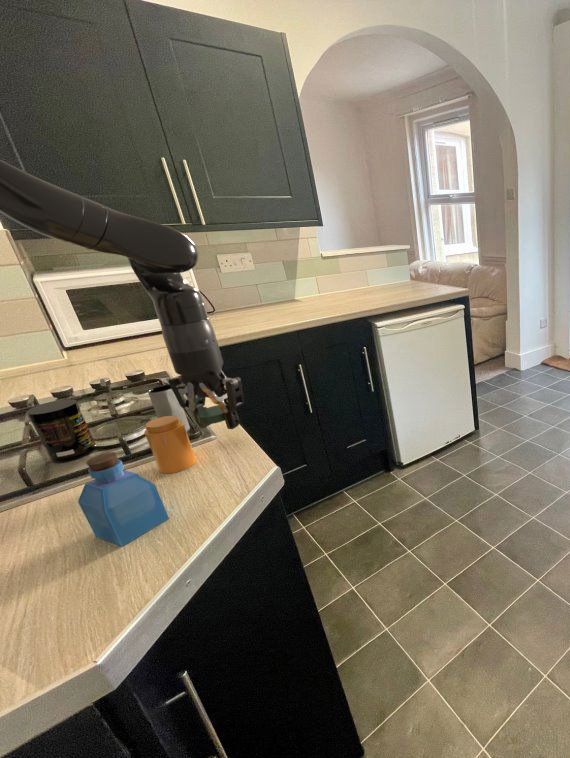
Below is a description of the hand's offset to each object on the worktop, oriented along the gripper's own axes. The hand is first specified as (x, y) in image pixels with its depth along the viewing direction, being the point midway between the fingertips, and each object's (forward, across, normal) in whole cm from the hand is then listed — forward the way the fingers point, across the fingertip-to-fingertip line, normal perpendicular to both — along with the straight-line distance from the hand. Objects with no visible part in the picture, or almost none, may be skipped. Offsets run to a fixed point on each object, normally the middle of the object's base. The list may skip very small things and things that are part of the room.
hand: (219, 426), depth 83 cm
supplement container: (+5, +28, +6) cm, 29 cm away
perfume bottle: (+5, -5, +23) cm, 24 cm away
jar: (+4, +3, +8) cm, 9 cm away
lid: (-3, 0, 0) cm, 3 cm away
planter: (+5, +16, -4) cm, 17 cm away
